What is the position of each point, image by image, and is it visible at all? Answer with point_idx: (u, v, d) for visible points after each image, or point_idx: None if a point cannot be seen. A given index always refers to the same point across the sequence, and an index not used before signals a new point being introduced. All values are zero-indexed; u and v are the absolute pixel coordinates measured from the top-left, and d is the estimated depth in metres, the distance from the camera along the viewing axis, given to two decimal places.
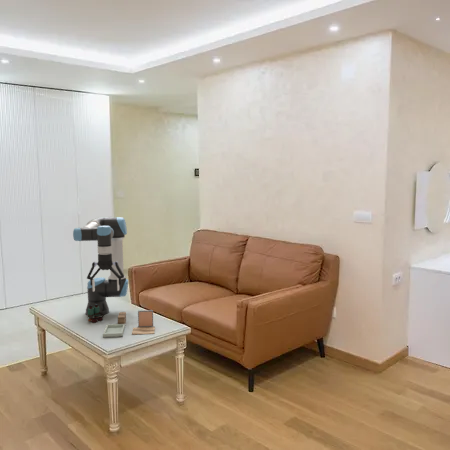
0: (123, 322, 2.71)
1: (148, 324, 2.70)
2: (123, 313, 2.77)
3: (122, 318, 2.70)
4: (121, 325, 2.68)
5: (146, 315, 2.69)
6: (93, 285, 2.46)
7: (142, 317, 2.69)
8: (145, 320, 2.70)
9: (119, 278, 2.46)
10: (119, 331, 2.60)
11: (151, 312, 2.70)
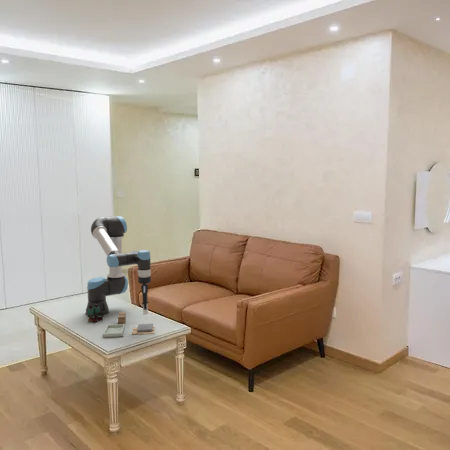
0: (123, 322, 2.71)
1: None
2: (123, 313, 2.77)
3: (122, 318, 2.70)
4: (121, 325, 2.68)
5: None
6: (143, 308, 2.67)
7: None
8: None
9: None
10: (119, 331, 2.60)
11: None
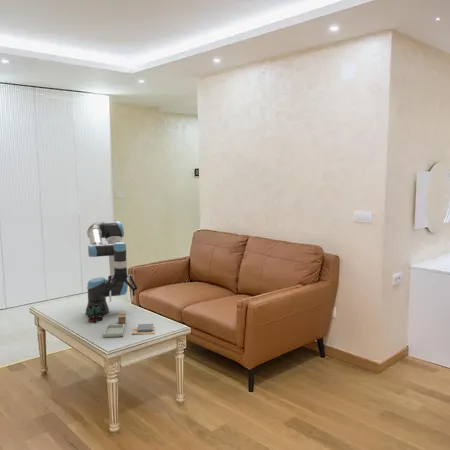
0: (123, 322, 2.71)
1: None
2: (123, 313, 2.77)
3: (122, 318, 2.71)
4: (121, 325, 2.68)
5: None
6: (110, 296, 2.72)
7: None
8: None
9: (133, 290, 2.72)
10: (119, 331, 2.60)
11: None
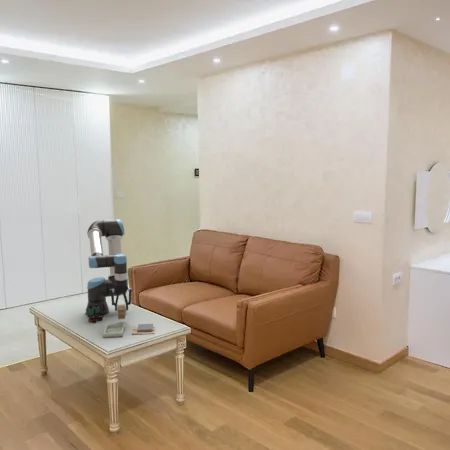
0: (123, 314, 2.71)
1: None
2: (122, 305, 2.77)
3: (122, 310, 2.70)
4: (121, 325, 2.68)
5: None
6: (117, 310, 2.74)
7: None
8: None
9: (126, 305, 2.73)
10: (119, 331, 2.60)
11: None
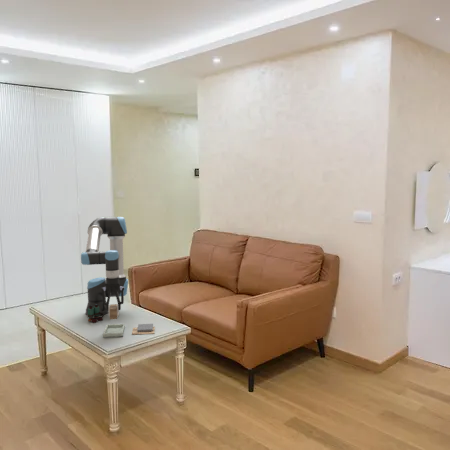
0: (115, 314, 2.54)
1: None
2: (115, 305, 2.61)
3: (114, 310, 2.54)
4: (121, 325, 2.68)
5: None
6: (109, 310, 2.57)
7: None
8: None
9: (119, 304, 2.57)
10: (119, 331, 2.60)
11: None
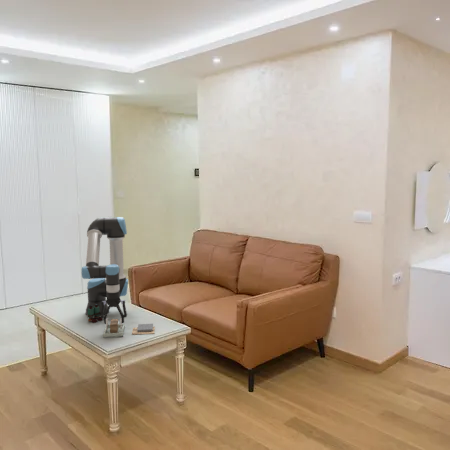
0: (116, 330, 2.55)
1: None
2: (115, 320, 2.62)
3: (114, 325, 2.55)
4: None
5: None
6: (107, 324, 2.58)
7: None
8: None
9: (122, 317, 2.58)
10: (119, 331, 2.60)
11: None
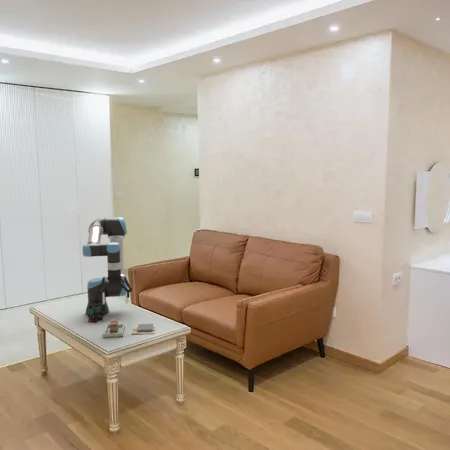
0: (116, 330, 2.55)
1: None
2: (115, 320, 2.62)
3: (114, 325, 2.55)
4: (121, 325, 2.68)
5: None
6: (103, 298, 2.61)
7: None
8: None
9: (128, 292, 2.62)
10: (119, 331, 2.60)
11: None
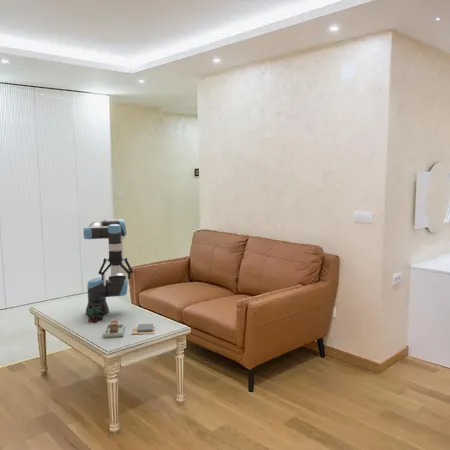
0: (116, 330, 2.55)
1: None
2: (115, 320, 2.62)
3: (114, 325, 2.55)
4: (121, 325, 2.68)
5: None
6: (104, 280, 2.63)
7: None
8: None
9: (128, 273, 2.64)
10: (119, 331, 2.60)
11: None
